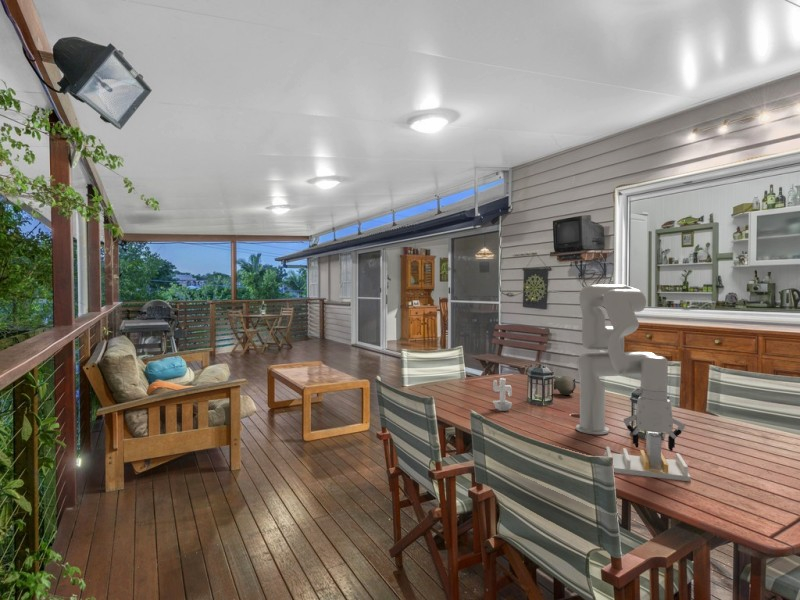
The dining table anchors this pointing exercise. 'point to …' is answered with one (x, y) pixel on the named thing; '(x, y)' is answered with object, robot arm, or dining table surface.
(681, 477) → the rack
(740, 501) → the dining table surface
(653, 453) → the panel
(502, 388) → the figurine
